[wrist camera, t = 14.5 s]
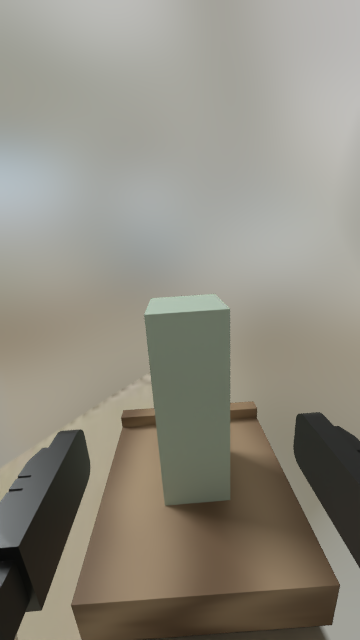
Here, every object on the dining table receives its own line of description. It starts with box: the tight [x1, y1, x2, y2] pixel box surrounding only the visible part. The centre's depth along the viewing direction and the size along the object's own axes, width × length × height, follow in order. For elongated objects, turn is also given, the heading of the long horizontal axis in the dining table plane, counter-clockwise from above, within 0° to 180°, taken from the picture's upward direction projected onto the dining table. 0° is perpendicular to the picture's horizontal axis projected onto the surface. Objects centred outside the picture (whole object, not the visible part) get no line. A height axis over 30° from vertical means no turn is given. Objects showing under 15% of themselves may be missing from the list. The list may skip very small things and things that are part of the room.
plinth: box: [71, 402, 340, 640], centre depth 17 cm, size 12×12×4 cm
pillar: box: [144, 294, 230, 506], centre depth 15 cm, size 4×4×12 cm
